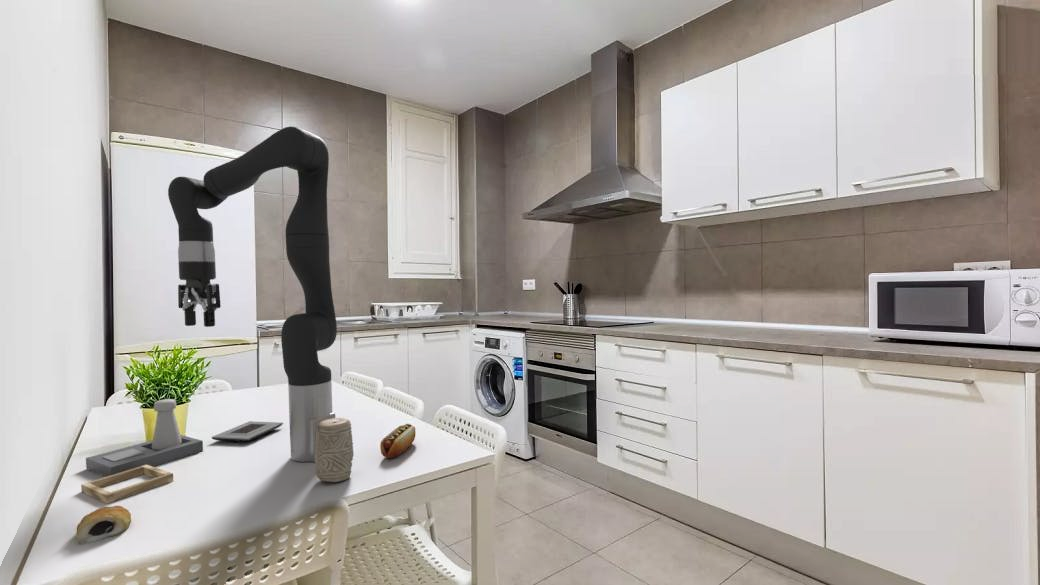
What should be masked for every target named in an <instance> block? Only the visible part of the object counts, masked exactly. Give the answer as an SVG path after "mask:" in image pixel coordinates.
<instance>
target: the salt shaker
mask: <svg viewBox="0 0 1040 585" xmlns="http://www.w3.org/2000/svg"><path fill="white" fill-rule="evenodd" d="M176 407H177V401H176V400H175V399H173V398H165V399H159V400H158V401H157V400H156V401H155V402H154V405H153V410H154V412H157V413H156V419H155V426H154V432H153V436H152V437H153V439H152V440H153V442H152V450H154V451H159V450H162V449H166V448H169V447H173V446H176V445H180V444H181V443H182V439H181V436H180V435H181V433H180V429H179V425H178V421H177V418H176V414H175V411H174V410H175V409H176Z"/></svg>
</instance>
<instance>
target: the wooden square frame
mask: <svg viewBox="0 0 1040 585" xmlns="http://www.w3.org/2000/svg"><path fill="white" fill-rule="evenodd" d="M141 475H146V476H148V477H151V478H150V479H147V480H144V481H141V482H137V483H136V484H135V483H134V484H132V485H129V486H126V487H123V488H120V489H117V490H114V491H113V490H112V491H110V490H106V489H105V488H103V487H106V486H110V485H113V484H116V483H119V482H122V481H126V480H129V479H133V478H135V477H138V476H141ZM128 478H129V479H128ZM173 481H174V473H173V472H169V471H167V470H164V469H160V468H158V467H156V466H153V467H152V466H150V465H143V466H140V467H137V468H133V469H130V470H127V471H123V472H120V473H117V474H114V475H110V476H107V477H105V476H103V477H101V478H98V479H94V480H91V481H88V482H85V483H81V484H80V486H81V488H80V489H81V493H83V492H84V493H83V494H86V495H88V496H90V497H92V498H95V499H96V500H99V501H101V502H104V503H105V504H109V503H112V502H116V501H119V500H121V499H125V498H128V497H131V496H133V495H136V494H139V493H142V492H145V491H147V490H150V489H154V488H157V487H159V486H162V485H165V484H168V483H171V482H173Z"/></svg>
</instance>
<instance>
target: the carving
mask: <svg viewBox="0 0 1040 585" xmlns="http://www.w3.org/2000/svg"><path fill="white" fill-rule="evenodd" d="M352 432H353V431H352V423H351V420H349V419H348V418H344V417H343V418H342V417H335V418H332V419H327V420H323V421H321V422H320V423H319V425H318V427H317V432H316V440H315V444H316V450H315V462H314V467H315V470H314V471H315V475H316V478H317V479H318V480H319V481H321V482H326V483H339V482H344V481H345V480H346V481H347V479H349V478H350V477H351V474H352V467H353V462H352V461H353V460H354V453H355V452H354V442H353V434H352Z"/></svg>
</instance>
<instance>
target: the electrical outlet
mask: <svg viewBox="0 0 1040 585" xmlns="http://www.w3.org/2000/svg"><path fill="white" fill-rule="evenodd" d="M283 425H284V423H283V422H274V421H273V422H272V421H255V420H254V421H253V420H249V421H247V422H244V423H242V424H240V425H237V426H235V427H233V428H230V429H228V430H226V431H222V432H221V433H218V434H216V435H212V436H211V439H212V440H215V441H225V442H226V441H229V442H250V441H252V440H255V439H257V438H259V437H261V436H263V435H265V434H267V433H269V432H271V431H273V430H276V429H278V428H280V427H281V426H283Z"/></svg>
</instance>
